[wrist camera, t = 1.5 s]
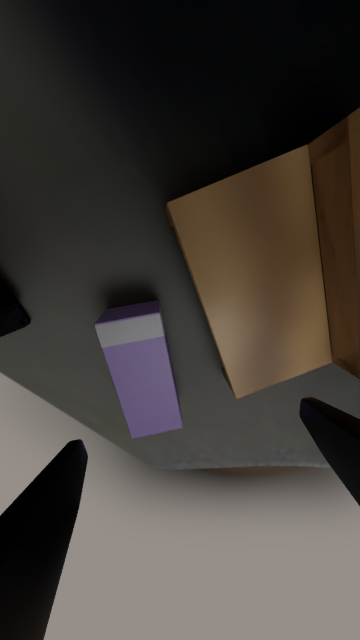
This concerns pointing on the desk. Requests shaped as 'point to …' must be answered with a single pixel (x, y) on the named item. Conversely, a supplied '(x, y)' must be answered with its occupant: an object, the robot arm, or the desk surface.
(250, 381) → the step shelf
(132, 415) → the purple box
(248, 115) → the desk surface
